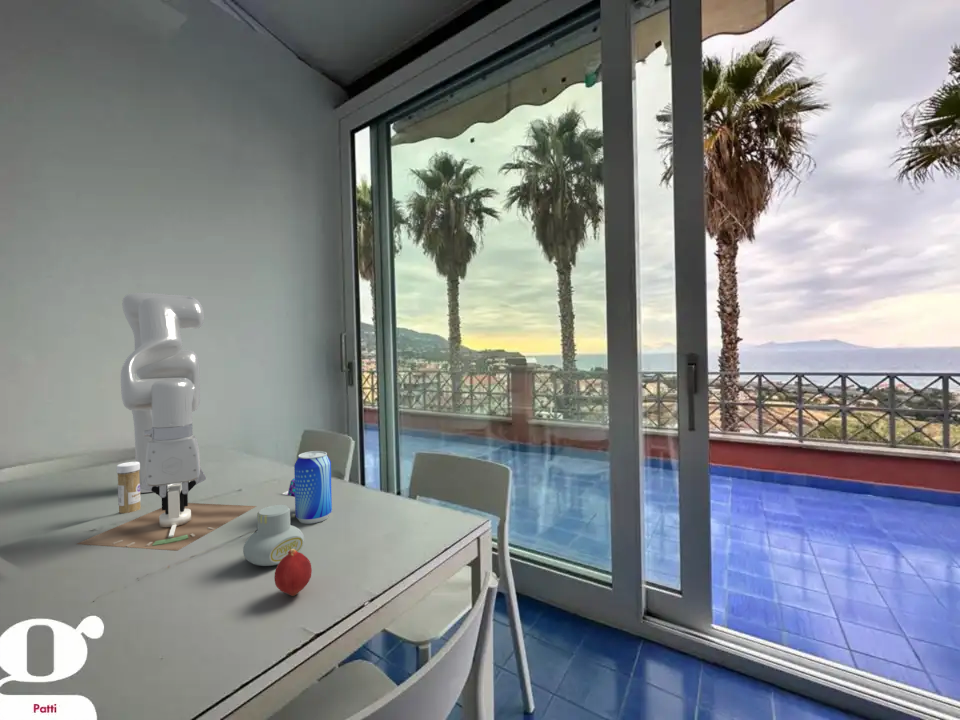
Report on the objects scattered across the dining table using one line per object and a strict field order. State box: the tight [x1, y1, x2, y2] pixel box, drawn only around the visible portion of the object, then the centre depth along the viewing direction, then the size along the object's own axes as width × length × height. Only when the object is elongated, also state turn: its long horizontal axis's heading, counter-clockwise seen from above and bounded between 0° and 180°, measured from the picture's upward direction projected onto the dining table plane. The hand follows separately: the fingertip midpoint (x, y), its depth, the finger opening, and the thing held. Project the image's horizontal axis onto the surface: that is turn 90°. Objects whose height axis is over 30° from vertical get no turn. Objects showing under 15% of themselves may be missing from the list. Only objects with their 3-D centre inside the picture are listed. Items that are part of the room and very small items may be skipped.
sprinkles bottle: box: [116, 461, 142, 514], centre depth 106 cm, size 5×5×14 cm
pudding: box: [282, 477, 295, 498], centre depth 120 cm, size 12×12×5 cm
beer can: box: [293, 450, 333, 525], centre depth 104 cm, size 8×8×16 cm
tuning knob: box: [159, 483, 191, 537], centre depth 95 cm, size 12×6×8 cm, turn 31°
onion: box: [274, 549, 313, 597], centre depth 71 cm, size 6×6×8 cm
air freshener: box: [242, 504, 305, 567], centre depth 83 cm, size 11×8×10 cm
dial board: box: [76, 502, 257, 551], centre depth 98 cm, size 24×24×2 cm
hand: (175, 510), depth 98 cm, fingers closed on tuning knob, 2 cm apart
